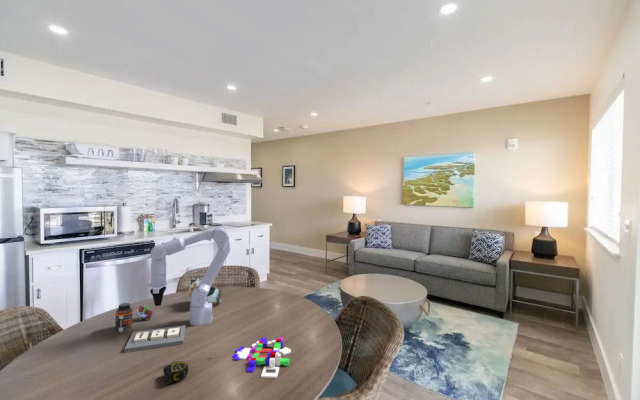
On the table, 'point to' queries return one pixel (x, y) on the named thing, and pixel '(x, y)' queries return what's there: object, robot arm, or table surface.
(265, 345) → the building block set
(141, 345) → the keypad board
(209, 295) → the lucky cat figurine
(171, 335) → the tile
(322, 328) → the table surface
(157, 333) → the tile
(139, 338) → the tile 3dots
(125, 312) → the supplement bottle
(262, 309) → the table surface
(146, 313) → the geometric puzzle
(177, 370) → the tape measure
